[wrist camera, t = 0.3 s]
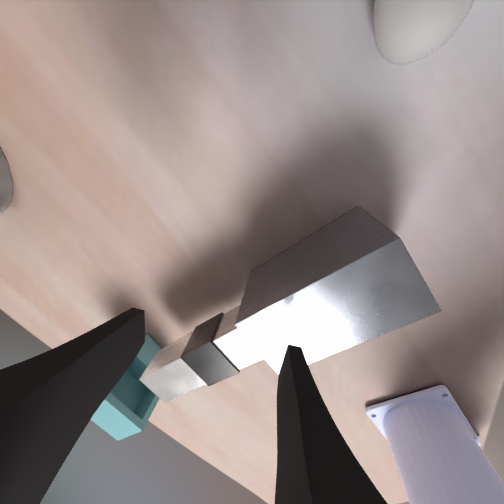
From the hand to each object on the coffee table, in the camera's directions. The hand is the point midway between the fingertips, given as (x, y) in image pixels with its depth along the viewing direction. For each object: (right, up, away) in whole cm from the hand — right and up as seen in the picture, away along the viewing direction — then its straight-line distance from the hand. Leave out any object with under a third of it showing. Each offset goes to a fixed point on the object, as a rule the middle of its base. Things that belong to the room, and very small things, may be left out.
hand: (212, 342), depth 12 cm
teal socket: (-9, -7, +15) cm, 19 cm away
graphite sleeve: (+7, +3, +8) cm, 11 cm away
